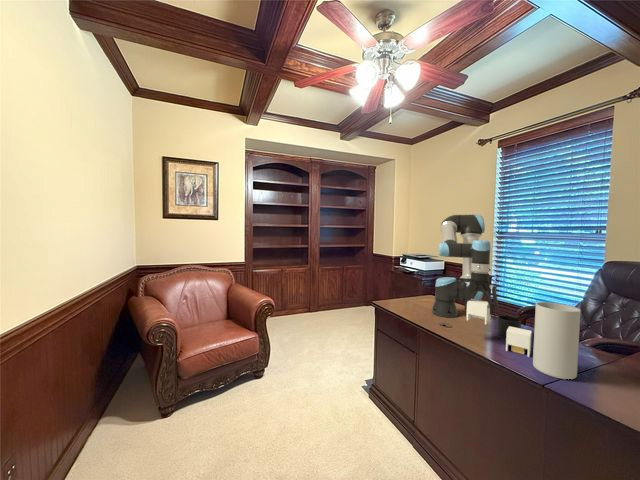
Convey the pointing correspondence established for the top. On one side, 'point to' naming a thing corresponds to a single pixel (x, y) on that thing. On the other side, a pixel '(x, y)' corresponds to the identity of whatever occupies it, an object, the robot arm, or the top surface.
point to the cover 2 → (518, 338)
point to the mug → (507, 324)
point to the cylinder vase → (556, 339)
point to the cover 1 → (477, 309)
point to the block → (518, 349)
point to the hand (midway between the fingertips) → (478, 318)
